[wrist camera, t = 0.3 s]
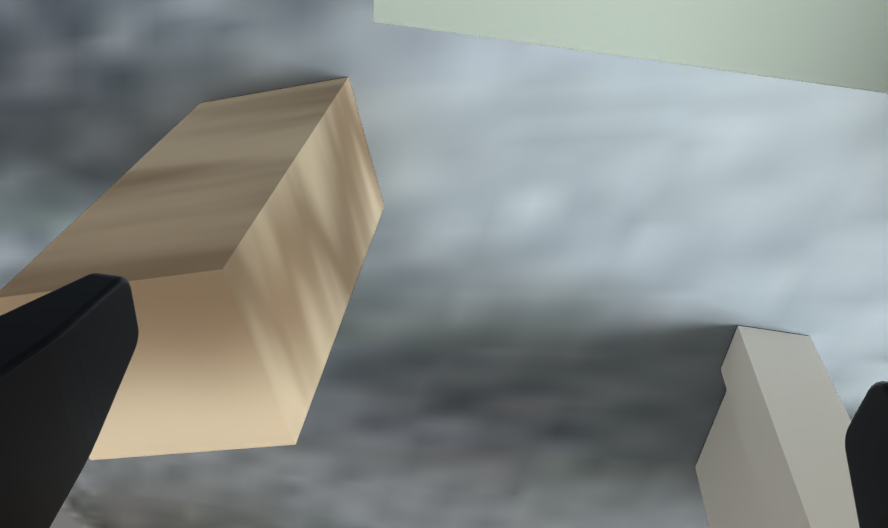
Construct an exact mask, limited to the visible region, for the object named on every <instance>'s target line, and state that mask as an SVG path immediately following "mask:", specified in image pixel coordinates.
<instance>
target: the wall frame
mask: <svg viewBox="0 0 888 528" xmlns="http://www.w3.org/2000/svg"><path fill="white" fill-rule="evenodd" d="M721 372H722V375H723V379H724V382H725V385H726V389H727V391H726V393H725V396H724V398H723V401H722V403H721V405H720V408H719V410H718V413H717V415H716V418H715V420H714V423H713V425H712V427H711V430H710V432H709V435H708V437H707V440H706V442H705V445H704V447H703V449H702V452H701V454H700V457H699V459H698V462H697V464H696V466H695V468H696V472H697V477H698V481H699V486H700V490H701V495H702V499H703V504H704V508H705V512H706V517H707V521H708V526H709V528H859V523H858V517H857V512H856V506H855V501H854V495H853V490H852V484H851V479H850V473H849V468H848V462H847V457H846V451H845V436H846V432H847V429H848V426H849V425H850V423H851V420H850V418H849V416H848V414H847V412H846V410H845V408H844V406H843V403H842V401H841V399H840V397H839V395H838V393H837V391H836V389H835V387H834V385H833V383H832V381H831V379H830V377H829V375H828V373H827V370H826V368H825V366H824V364H823V362H822V360H821V358H820V356H819V354H818V352H817V350H816V348H815V346H814V344H813V342H812V340H811V337H810V336H804V335H797V334H791V333H784V332H777V331H771V330H764V329H757V328H751V327H744V326H738V327H737V329H736V332H735V334H734V337H733V339H732V342H731V344H730V347H729V349H728V352H727V354H726V357H725V359H724V362H723V365H722V367H721Z"/></svg>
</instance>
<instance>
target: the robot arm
mask: <svg viewBox="0 0 888 528" xmlns="http://www.w3.org/2000/svg"><path fill="white" fill-rule="evenodd" d="M138 336H139V329H138V322H137V317H136V311H135V306H134V300H133V295H132V289H131V286H130V283H129V281H128V280H127V279H126V278H124V277H122V276H117V275H109V274H102V273H91V274H88V275H86V276H84V277H82V278H80V279H78V280H75V281H73V282H71V283H69V284H67V285H65V286H63V287H60V288H58V289H56V290H54V291H52V292H50V293H48V294H45V295H43V296H41V297H39V298H37V299H35V300H33V301H31V302H28V303H26V304H24V305H22V306H20V307H18V308H16V309H13V310H11V311H9V312H7V313H5V314H3V315H1V316H0V528H50V526H51V524H52V522H53V520H54V519H55V517H56V515H57V513H58V512H59V510H60V508H61V506H62V504H63V503H64V501H65V499H66V497H67V496H68V494H69V492H70V490H71V489H72V487H73V485H74V483H75V481H76V480H77V478H78V476H79V474H80V473H81V471H82V469H83V467H84V465H85V463H86V461H87V460H88V458H89V456H90V454H91V452H92V450H93V448H94V445H95V443H96V441H97V439H98V437H99V434H100V432H101V430H102V427H103V425H104V423H105V420H106V418H107V415H108V413H109V411H110V408H111V406H112V404H113V401H114V399H115V396H116V394H117V392H118V389H119V387H120V385H121V382H122V380H123V377H124V375H125V373H126V370H127V368H128V366H129V363H130V361H131V358H132V356H133V354H134V351H135V349H136V346H137V342H138ZM845 451H846V457H847V462H848V468H849V473H850V479H851V484H852V490H853V495H854V501H855V506H856V512H857V517H858V523H859V528H888V382H886V381H881V382H877V383H875V384H874V385H872V386H871V388H870V389H869V390H868V392H867V394H866V396H865V398H864V399H863V401H862V403H861V405H860V407H859V408H858V410H857V412H856V414H855V416H854V417H853V419H852V421H851V423H850V425H849V426H848V429H847V432H846V436H845Z"/></svg>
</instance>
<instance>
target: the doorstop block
mask: <svg viewBox="0 0 888 528" xmlns="http://www.w3.org/2000/svg"><path fill="white" fill-rule="evenodd" d="M383 208H384V203H383V200H382V196H381V192H380V189H379V185H378V182H377V178H376V174H375V171H374V167H373V164H372V160H371V156H370V153H369V149H368V146H367V142H366V138H365V135H364V131H363V128H362V124H361V120H360V117H359V113H358V110H357V106H356V102H355V99H354V95H353V92H352V88H351V84H350V81H349V77H346V78H340V79H335V80H329V81H323V82H318V83H312V84H306V85H300V86H295V87H289V88H283V89H278V90H272V91H266V92H261V93H255V94H249V95H243V96H238V97H232V98H226V99H221V100H215V101H209V102H204V103H200V104H199V105H197V106H196V107H195V108H194V109H193V110H192V111H191V112H190V113H189V114H188V115H187V116H186V117H185V118H184V119H183V120H181V121H180V122H179V123H178V124H177V125H176V126H175V127H174V128H173V129H172V130H171V131H170V132H169V133H168V134H167V135H166V136H164V137H163V138H162V139H161V140H160V141H159V142H158V143H157V144H156V145H155V146H154V147H153V148H152V149H151V150H150V151H148V152H147V153H146V154H145V155H144V156H143V157H142V158H141V159H140V160H139V161H138V162H137V163H136V164H135V165H134V166H132V167H131V168H130V169H129V170H128V171H127V172H126V173H125V174H124V175H123V176H122V177H121V178H120V179H119V180H118V181H116V182H115V183H114V184H113V185H112V186H111V187H110V188H109V189H108V190H107V191H106V192H105V193H104V194H103V195H102V196H100V197H99V198H98V199H97V200H96V201H95V202H94V203H93V204H92V205H91V206H90V207H89V208H88V209H87V210H86V211H84V212H83V213H82V214H81V215H80V216H79V217H78V218H77V219H76V220H75V221H74V222H73V223H72V224H71V225H70V226H68V227H67V228H66V229H65V230H64V231H63V232H62V233H61V234H60V235H59V236H58V237H57V238H56V239H55V240H54V241H52V242H51V243H50V244H49V245H48V246H47V247H46V248H45V249H44V250H43V251H42V252H41V253H40V254H39V255H38V256H37V257H35V258H34V259H33V260H32V261H31V262H30V263H29V264H28V265H27V266H26V267H25V268H24V269H23V270H22V271H21V272H19V273H18V274H17V275H16V276H15V277H14V278H13V279H12V280H11V281H10V282H9V283H8V284H7V285H6V286H5V287H3V288H2V289H1V290H0V313H1V315H3V314H5V313H7V312H9V311H11V310H13V309H16V308H18V307H20V306H22V305H24V304H26V303H28V302H31V301H33V300H35V299H37V298H39V297H41V296H43V295H45V294H48V293H50V292H52V291H54V290H56V289H58V288H60V287H63V286H65V285H67V284H69V283H71V282H73V281H75V280H78V279H80V278H82V277H84V276H86V275H88V274H91V273H102V274H109V275H117V276H122V277H124V278H126V279H127V280H128V281H129V283H130V286H131V289H132V295H133V300H134V306H135V311H136V317H137V322H138V329H139V336H138V342H137V346H136V349H135V351H134V354H133V356H132V358H131V361H130V363H129V366H128V368H127V370H126V373H125V375H124V377H123V380H122V382H121V385H120V387H119V389H118V392H117V394H116V396H115V399H114V401H113V404H112V406H111V408H110V411H109V413H108V415H107V418H106V420H105V423H104V425H103V427H102V430H101V432H100V434H99V437H98V439H97V441H96V443H95V445H94V448H93V450H92V452H91V454H90V456H89V458H90V460H99V459H112V458H125V457H138V456H151V455H164V454H177V453H191V452H204V451H217V450H230V449H243V448H256V447H269V446H283V445H296V442H297V440H298V437H299V434H300V431H301V429H302V426H303V423H304V421H305V418H306V415H307V413H308V410H309V407H310V405H311V402H312V399H313V396H314V394H315V391H316V388H317V386H318V383H319V380H320V378H321V375H322V372H323V370H324V367H325V364H326V361H327V359H328V356H329V353H330V351H331V348H332V345H333V343H334V340H335V337H336V335H337V332H338V329H339V327H340V324H341V321H342V318H343V316H344V313H345V310H346V308H347V305H348V302H349V300H350V297H351V294H352V292H353V289H354V286H355V283H356V281H357V278H358V275H359V273H360V270H361V267H362V265H363V262H364V259H365V257H366V254H367V251H368V248H369V246H370V243H371V240H372V238H373V235H374V232H375V230H376V227H377V224H378V222H379V219H380V216H381V214H382V211H383Z"/></svg>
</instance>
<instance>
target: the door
mask: <svg viewBox="0 0 888 528" xmlns="http://www.w3.org/2000/svg"><path fill="white" fill-rule="evenodd" d="M373 22H378V23H385V24H392V25H400V26H407V27H414V28H421V29H428V30H436V31H443V32H450V33H457V34H464V35H472V36H479V37H486V38H493V39H500V40H508V41H515V42H522V43H529V44H536V45H544V46H551V47H558V48H565V49H572V50H580V51H587V52H594V53H601V54H608V55H616V56H623V57H630V58H637V59H644V60H652V61H659V62H666V63H673V64H680V65H688V66H695V67H702V68H709V69H716V70H723V71H731V72H738V73H745V74H752V75H759V76H767V77H774V78H781V79H788V80H795V81H803V82H810V83H817V84H824V85H831V86H839V87H846V88H853V89H860V90H867V91H875V92H882V93H888V0H374V7H373Z"/></svg>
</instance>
